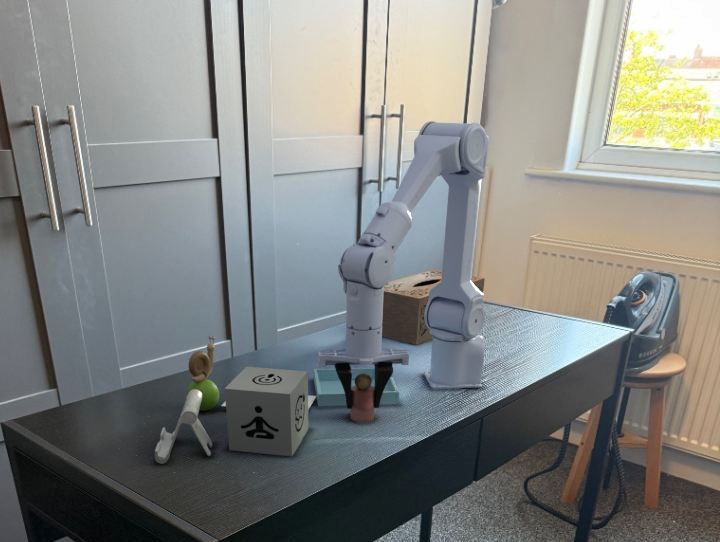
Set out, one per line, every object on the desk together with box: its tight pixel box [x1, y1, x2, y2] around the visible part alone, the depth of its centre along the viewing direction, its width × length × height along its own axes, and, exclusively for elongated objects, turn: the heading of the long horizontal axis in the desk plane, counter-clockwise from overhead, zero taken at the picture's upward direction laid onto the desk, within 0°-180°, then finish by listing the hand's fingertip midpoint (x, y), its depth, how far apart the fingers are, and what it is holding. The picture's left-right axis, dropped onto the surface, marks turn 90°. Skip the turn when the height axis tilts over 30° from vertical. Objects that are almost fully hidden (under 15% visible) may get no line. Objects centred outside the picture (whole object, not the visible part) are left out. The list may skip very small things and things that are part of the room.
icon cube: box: [224, 366, 309, 457], centre depth 112 cm, size 10×10×10 cm
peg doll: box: [349, 373, 375, 423], centre depth 120 cm, size 4×4×8 cm
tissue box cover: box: [382, 268, 485, 346], centre depth 167 cm, size 26×14×10 cm, turn 138°
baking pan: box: [313, 366, 400, 407], centre depth 131 cm, size 14×13×2 cm
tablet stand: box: [154, 389, 213, 465], centre depth 108 cm, size 9×8×8 cm
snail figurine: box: [186, 335, 220, 412], centre depth 122 cm, size 5×6×12 cm
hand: (362, 406), depth 120 cm, fingers closed on peg doll, 4 cm apart
